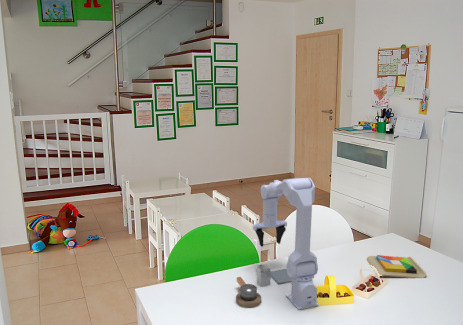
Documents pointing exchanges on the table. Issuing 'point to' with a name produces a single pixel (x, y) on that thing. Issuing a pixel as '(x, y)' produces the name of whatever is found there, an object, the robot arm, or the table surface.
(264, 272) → the translucent grey block
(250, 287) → the small saucepan
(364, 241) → the table surface
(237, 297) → the base
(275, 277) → the mat
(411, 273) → the wooden puzzle
